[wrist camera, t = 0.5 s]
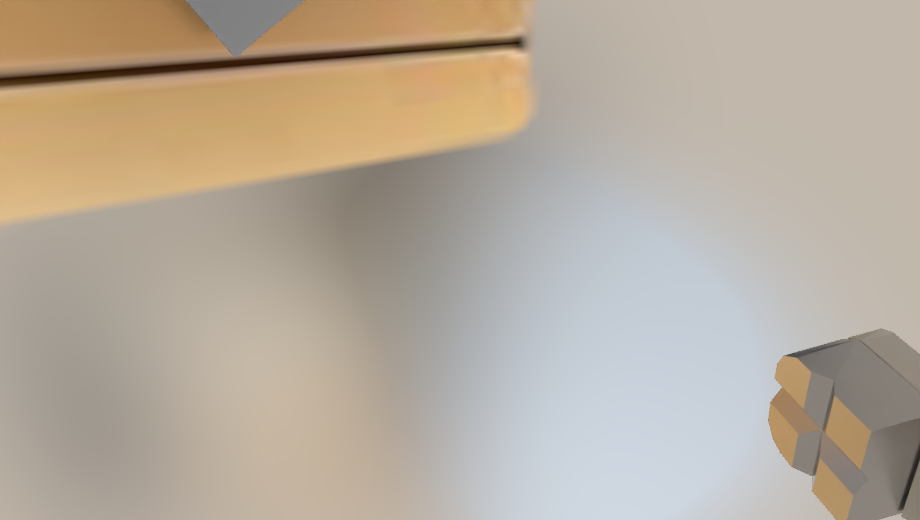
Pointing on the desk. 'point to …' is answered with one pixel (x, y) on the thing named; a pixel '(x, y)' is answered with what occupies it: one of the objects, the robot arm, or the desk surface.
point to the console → (241, 19)
